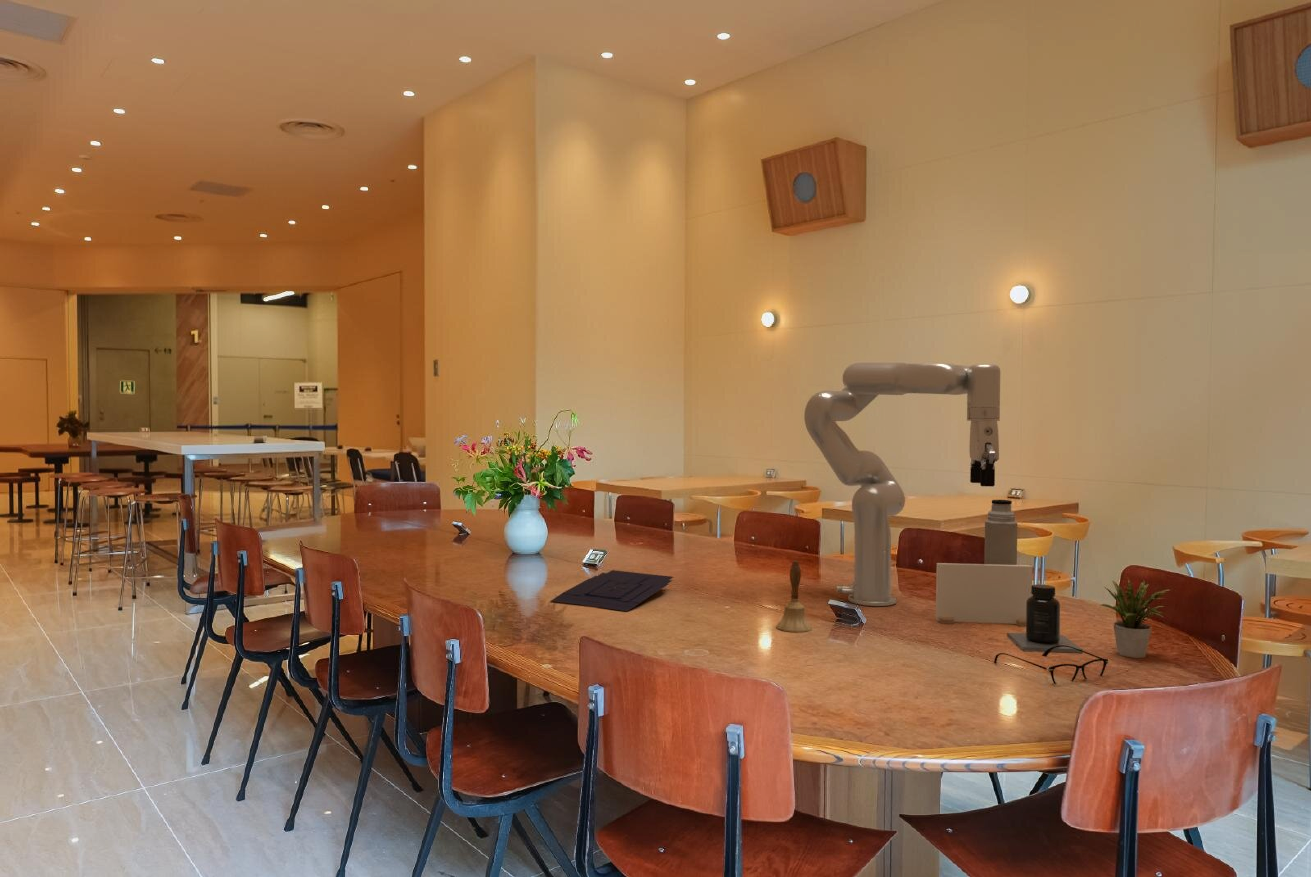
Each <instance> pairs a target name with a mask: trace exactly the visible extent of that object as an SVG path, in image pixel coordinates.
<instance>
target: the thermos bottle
mask: <svg viewBox="0 0 1311 877" xmlns="http://www.w3.org/2000/svg"><path fill="white" fill-rule="evenodd" d="M1012 501H1013V500H1010V499H1008V500H1007V499H991V510H990V511H988V512H987V516H986V517H987V519H986V520H984V560H983V561H984V563H983V564H996V565H1018V521H1016V520H1015V519H1016V515H1015V514H1016V513H1015V512H1013V511H1012V504H1013V502H1012Z"/></svg>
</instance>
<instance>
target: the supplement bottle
mask: <svg viewBox="0 0 1311 877" xmlns="http://www.w3.org/2000/svg"><path fill="white" fill-rule="evenodd" d="M1031 594H1032V596H1031V597H1030V598H1028V599H1027V601H1026V626H1025V633H1026V638H1027V639H1028V640H1030V641H1033V642H1037V643H1045V644H1053V643H1057V642H1059V640H1060V635H1061V604H1060V603H1061V602H1060V601H1059V600H1058V599H1057V598H1055V596H1056V587H1055V586H1053V585H1049V584H1032V586H1031Z"/></svg>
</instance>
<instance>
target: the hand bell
mask: <svg viewBox="0 0 1311 877" xmlns="http://www.w3.org/2000/svg"><path fill="white" fill-rule="evenodd" d="M799 563H800V562H799V561H798V560H793V561H792V563H791V567H790V570H789V581H790V586H791V592H790V594H791V596H790V602H788V603H786V604H785V605H784V611H783V615H782V618H781V620H780V621H779V622H778V623H777V624H776V625H775V627H776V629H778V630H780V631H783V632H788V633H806V632H810V631H811V630H812V629H813V627H812V625H811V624H810V623H809V622H808V619H807V617H806V613H805V612H806V611H805V606H804V605H803V604H801V603H800V602H799V585H800V582H801V578H802V577H801V576H802V572H801V567H800V564H799Z"/></svg>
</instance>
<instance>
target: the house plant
mask: <svg viewBox="0 0 1311 877" xmlns="http://www.w3.org/2000/svg"><path fill="white" fill-rule="evenodd" d="M1126 579H1127V584H1128V586H1126V585H1123V588H1125V589H1126V591H1125V592H1124V590H1123V589H1122V588H1121V586H1120V585H1119V584H1118V583H1117V582H1116V581H1113V580H1111V581H1112V583H1113V585H1114V588H1115V591H1116V592H1115V591H1113V592H1112V591H1111V589H1110V588H1107V587H1106V586H1104V588H1105V589H1106V590H1107V591H1108V592H1109V594H1110V595H1111V596H1112V597H1113V599H1114V600H1115V601H1116V603H1117V604H1118V605H1113V606H1112V605H1110V604H1106V603H1102V604H1100V605H1099V607H1105V608H1108V609H1111V610H1114V611H1115V612H1116V613H1117V614H1119V616H1120V619H1121V620H1119V621H1115V622H1113V623H1112V624H1113V631H1114V638H1115V643H1116V644H1115V645H1116V650H1117V654H1118V655H1120V656H1123V657H1127V658H1133V659H1142V658H1146V656H1147V651H1148V648H1149V641H1150V637H1151V631H1152V626H1151V625H1150V624H1147V623H1145V622H1146V621H1147V620H1149V619H1150V618H1151V617H1153V616H1154V615H1156V616H1159V617H1162V618H1163V619H1165V618H1164V616H1163V614H1162V611H1159V610H1157V609H1158V608H1163V607H1166V606H1164V605H1158V606H1155V607H1149V606H1150V604H1151V603H1152V602H1153V601H1156V600H1163V599H1164V600H1165V597H1159V596H1161V595H1164V594H1167V591H1168V592H1169V589H1164V590H1160V591H1156V592H1155V593H1154V592H1153V593H1152V594H1151V595H1149V596H1148V597H1146V599H1144V597H1145V596H1146V594H1147V588H1148V587H1149V583H1147V584H1145V583H1146V582H1145V579H1143V580H1142V581H1141V583H1140V585H1139V587H1138V588H1137V589H1136V592H1135V594H1134V589H1133V588H1134V587H1132V583H1131V580H1130V579H1129V577H1128V576H1127V577H1126ZM1173 590H1174V589H1171V591H1173ZM1148 616H1149V617H1148Z"/></svg>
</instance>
